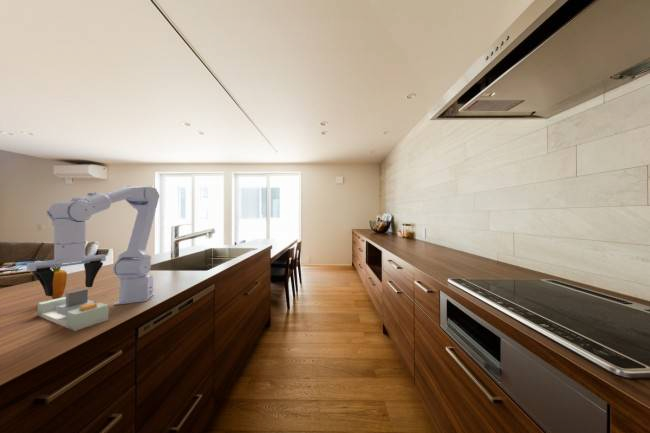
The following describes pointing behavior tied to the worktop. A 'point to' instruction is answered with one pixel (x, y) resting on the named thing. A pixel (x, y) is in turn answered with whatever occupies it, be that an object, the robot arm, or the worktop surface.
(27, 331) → the worktop surface
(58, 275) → the carrot
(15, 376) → the worktop surface
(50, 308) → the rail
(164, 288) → the worktop surface
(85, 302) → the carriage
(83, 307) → the orange small block
